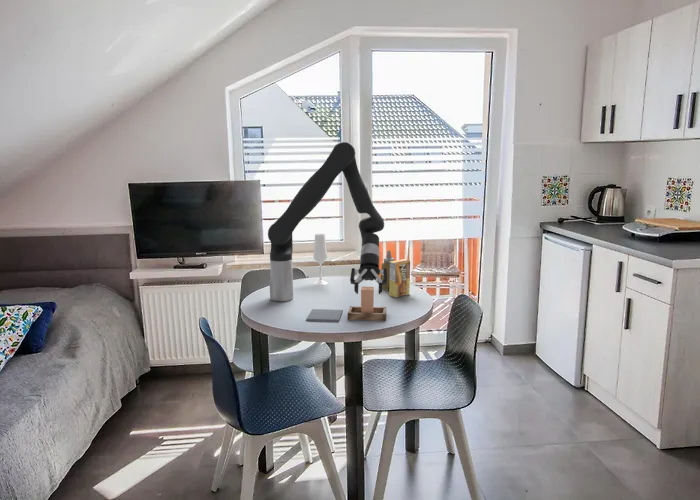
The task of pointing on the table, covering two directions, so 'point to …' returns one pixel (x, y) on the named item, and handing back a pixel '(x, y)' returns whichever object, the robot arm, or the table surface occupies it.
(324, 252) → the champagne flute
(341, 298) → the table surface
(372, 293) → the terracotta block
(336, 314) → the slate mat
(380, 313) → the walnut cradle
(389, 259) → the squeeze bottle
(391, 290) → the candy box
